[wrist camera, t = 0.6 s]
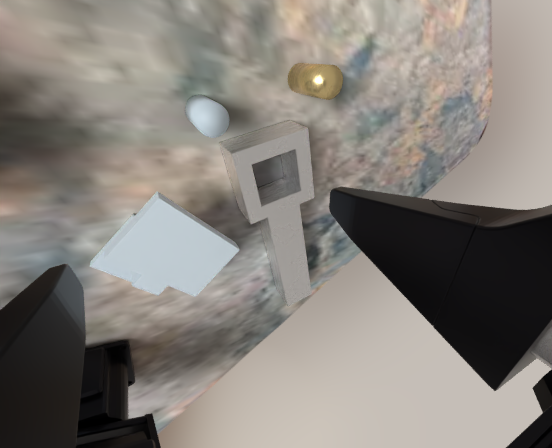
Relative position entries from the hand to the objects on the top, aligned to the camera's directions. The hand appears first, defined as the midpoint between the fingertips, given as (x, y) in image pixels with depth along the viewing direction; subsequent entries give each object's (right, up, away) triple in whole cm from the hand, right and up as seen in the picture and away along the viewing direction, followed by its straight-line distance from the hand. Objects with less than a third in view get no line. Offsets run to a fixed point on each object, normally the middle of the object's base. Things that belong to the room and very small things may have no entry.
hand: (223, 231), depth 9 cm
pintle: (+4, +11, +11) cm, 16 cm away
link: (+2, 0, +17) cm, 17 cm away
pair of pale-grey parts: (-7, +2, +11) cm, 13 cm away
